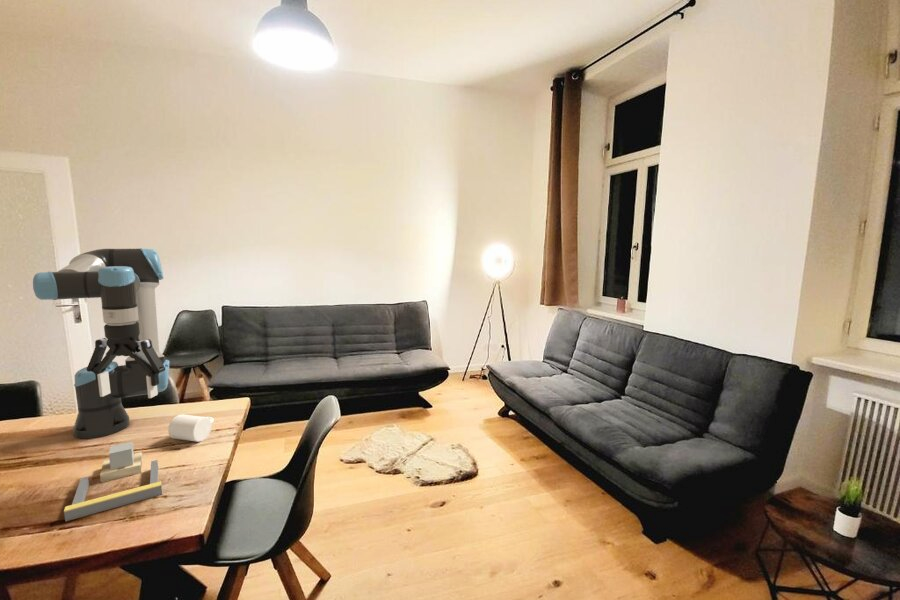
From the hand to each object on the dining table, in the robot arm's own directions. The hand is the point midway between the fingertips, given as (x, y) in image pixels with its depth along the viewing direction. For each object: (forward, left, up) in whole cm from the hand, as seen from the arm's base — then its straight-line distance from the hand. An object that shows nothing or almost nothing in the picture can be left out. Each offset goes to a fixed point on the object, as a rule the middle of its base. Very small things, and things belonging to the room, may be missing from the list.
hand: (129, 395), depth 114 cm
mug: (-17, +15, -24) cm, 33 cm away
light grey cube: (-3, -3, -21) cm, 22 cm away
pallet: (-4, -4, -24) cm, 25 cm away
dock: (+7, -4, -24) cm, 25 cm away
